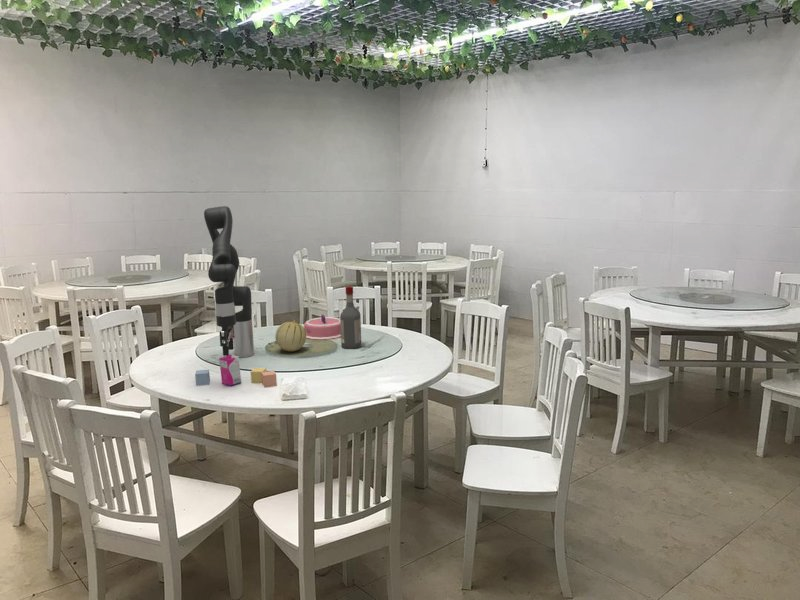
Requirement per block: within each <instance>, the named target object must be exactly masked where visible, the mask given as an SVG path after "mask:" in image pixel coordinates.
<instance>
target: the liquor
mask: <svg viewBox="0 0 800 600" xmlns="http://www.w3.org/2000/svg"><path fill="white" fill-rule="evenodd" d="M345 295H346V299H345V300H346V305H345V307H344V309H343V310H342V312H341V313H340V314H339V315H340V316H339V319H340V324H341V338H340V343H341V348H342V349H344V350H356V349H359V348H361V346H362V323H361V321H362V320H361V318H362V317H361V313H360V311H359V309H357V308H356V306H355V304H354V296H353V295H354V286H346V287H345Z"/></svg>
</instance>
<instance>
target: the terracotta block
mask: <svg viewBox="0 0 800 600" xmlns="http://www.w3.org/2000/svg"><path fill="white" fill-rule="evenodd" d="M261 374H262V383H261V384H262V386H263V387H264V388H270V387H277V385H278V383H277V373H276V372H275V370H268V371H267V370H266V372H261Z"/></svg>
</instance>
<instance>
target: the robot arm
mask: <svg viewBox="0 0 800 600" xmlns="http://www.w3.org/2000/svg"><path fill="white" fill-rule="evenodd" d="M232 213H233V212H232V210H231V208H230V207H229V206H226V205H225V206H216V207H209V208H206V209H205V210H204V213H203V216H204V221H205V225H206V227H207V230H208V234H209V236H210V239H211V242H212V259H211V262H210V265H209V268H208V272H207V273H208V275H207V276H208V278H209V280H210V281H211V282H213V283H223V286H221V287H218V288H215V290H214V299H215V300H214V301H215V307H214V308H215V323H216V326H217V327H219V328H220V327H221V330H220V331H219V346H220V347H222V356H223V357H224V356H228V355H230V351H232V350H233V351H234V353H233V355H234V356H239V358H247V357H252V356H255V343H254V330H253V328H254V327H253V315H252V314H253V313H252V312H253V311H252V310H253V309H252V292H251V288H250V287H249V286H248V285H247V286H246V285H244V286H243V285H242V286H239V285H238V286H236V285H234V284H235V280H236V275H237V273H238V270H239V267H240V258H239V255H238V251H237V249H236V248H235V247H234V245H232V244H231V240H232V239H231V238H232V231H233V224H234V223H233V214H232ZM221 229H222V230H221ZM218 230H221V231H220V232H219V231H218ZM241 306H242V308H241V310H240V311H237V312H236V307H241Z"/></svg>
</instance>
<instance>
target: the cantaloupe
mask: <svg viewBox="0 0 800 600" xmlns="http://www.w3.org/2000/svg"><path fill="white" fill-rule="evenodd" d="M274 335H275V338H274V339H275V342H276V344H277V346H278V347H279V348H280V349H281V350H283V351H285V352H287V353H288V352H296V351H298V350H301V348H303V346H304V345H305V343H306V340H307V339H306V331H305V329H304V327H303V325H302V324H300V323H298V322H296V320H295V319H293V321H285V322H283V323H281V324H280V325H279V326H278V327H277V329H276V331H275V334H274Z"/></svg>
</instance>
